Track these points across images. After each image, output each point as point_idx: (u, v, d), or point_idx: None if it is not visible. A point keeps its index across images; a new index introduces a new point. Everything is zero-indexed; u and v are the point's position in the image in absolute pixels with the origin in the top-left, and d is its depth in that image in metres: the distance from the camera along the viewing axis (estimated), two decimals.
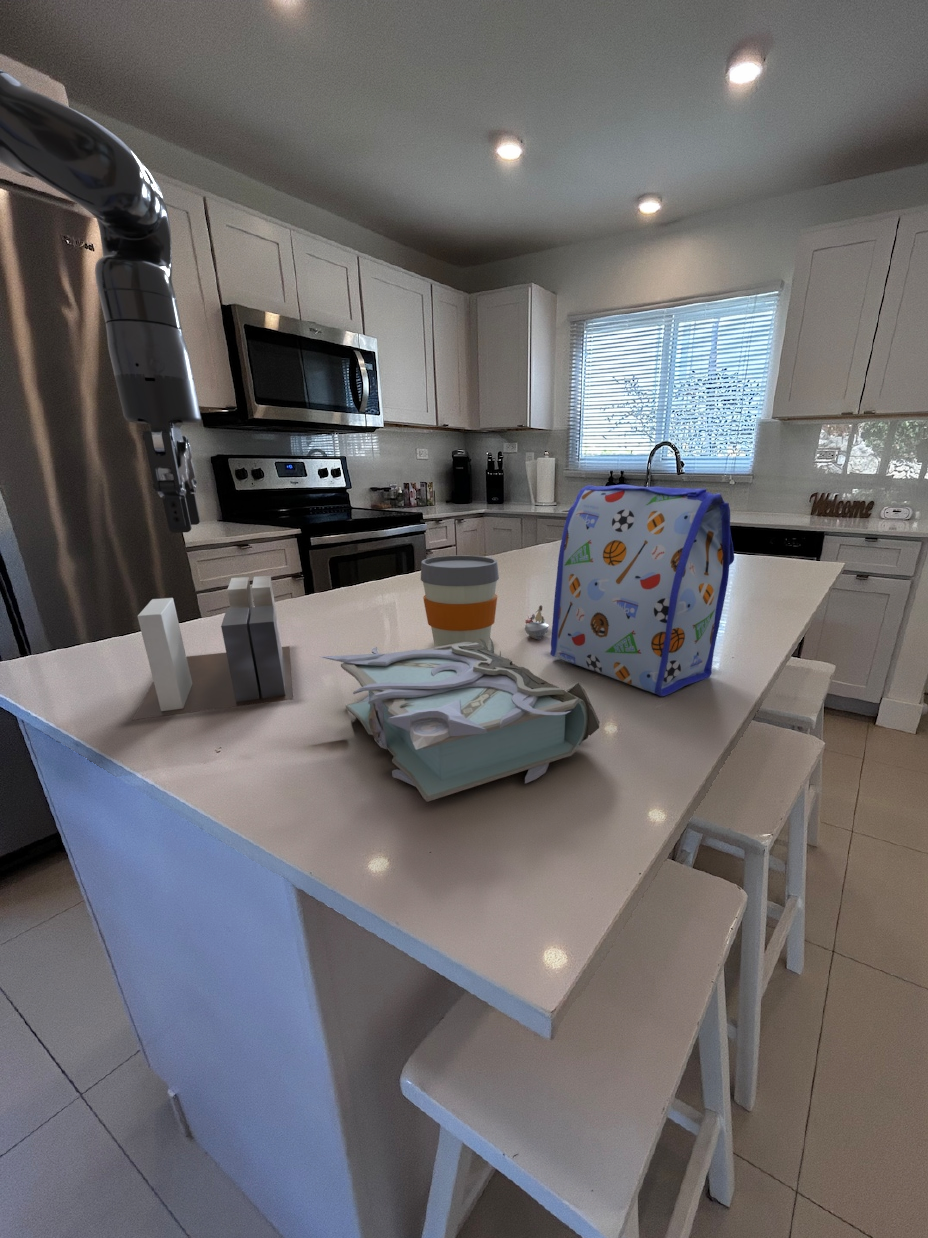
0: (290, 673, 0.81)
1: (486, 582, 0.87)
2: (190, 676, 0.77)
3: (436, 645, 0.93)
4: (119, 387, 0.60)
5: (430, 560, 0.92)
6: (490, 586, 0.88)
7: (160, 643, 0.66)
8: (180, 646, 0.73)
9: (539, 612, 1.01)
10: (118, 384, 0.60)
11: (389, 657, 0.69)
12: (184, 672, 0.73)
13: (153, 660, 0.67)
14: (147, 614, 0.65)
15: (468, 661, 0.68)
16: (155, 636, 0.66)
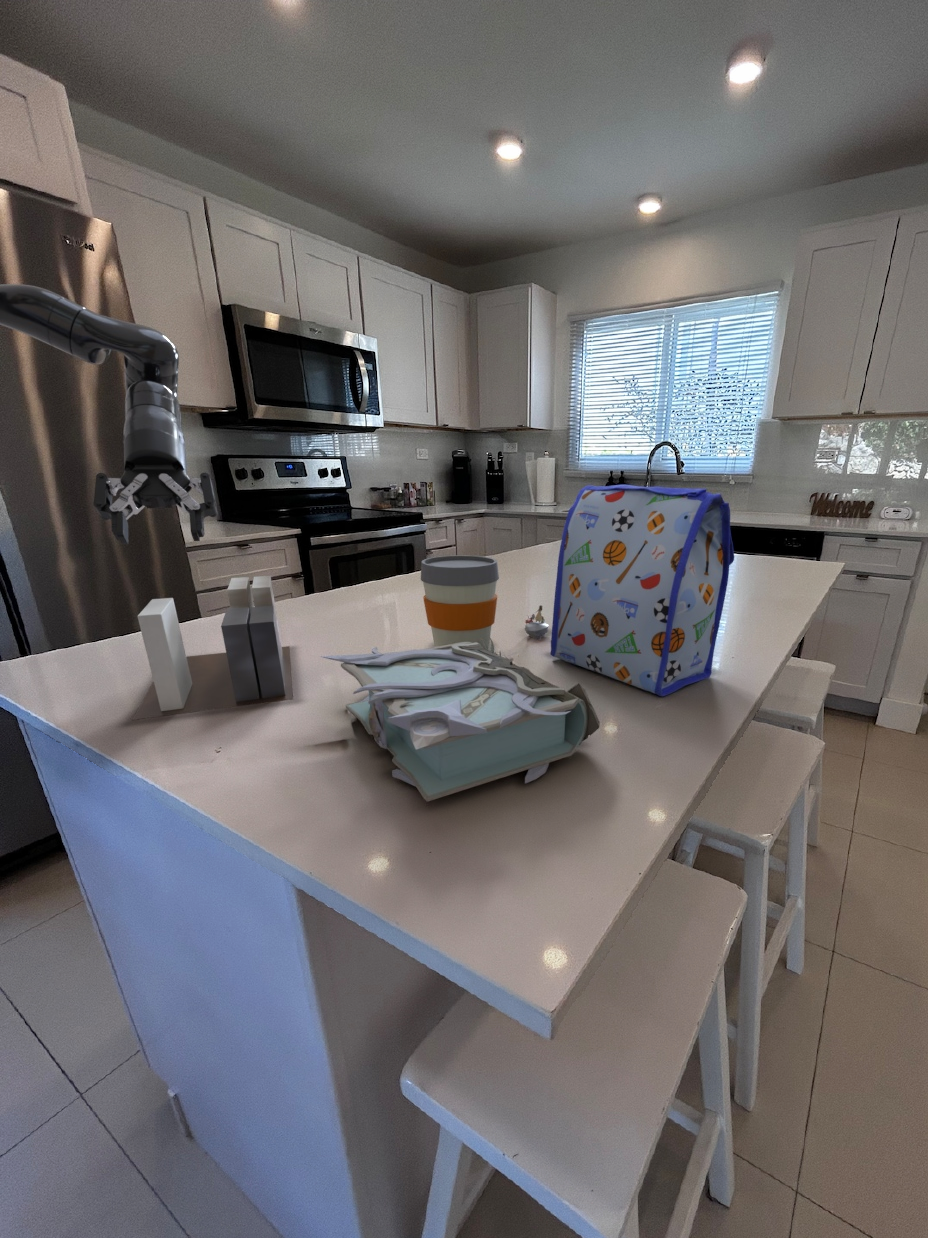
0: (290, 673, 0.81)
1: (486, 582, 0.87)
2: (190, 676, 0.77)
3: (436, 645, 0.93)
4: None
5: (430, 560, 0.92)
6: (490, 586, 0.88)
7: (160, 643, 0.66)
8: (180, 646, 0.73)
9: (539, 612, 1.01)
10: None
11: (389, 657, 0.69)
12: (184, 672, 0.73)
13: (153, 660, 0.67)
14: (147, 614, 0.65)
15: (468, 661, 0.68)
16: (155, 636, 0.66)
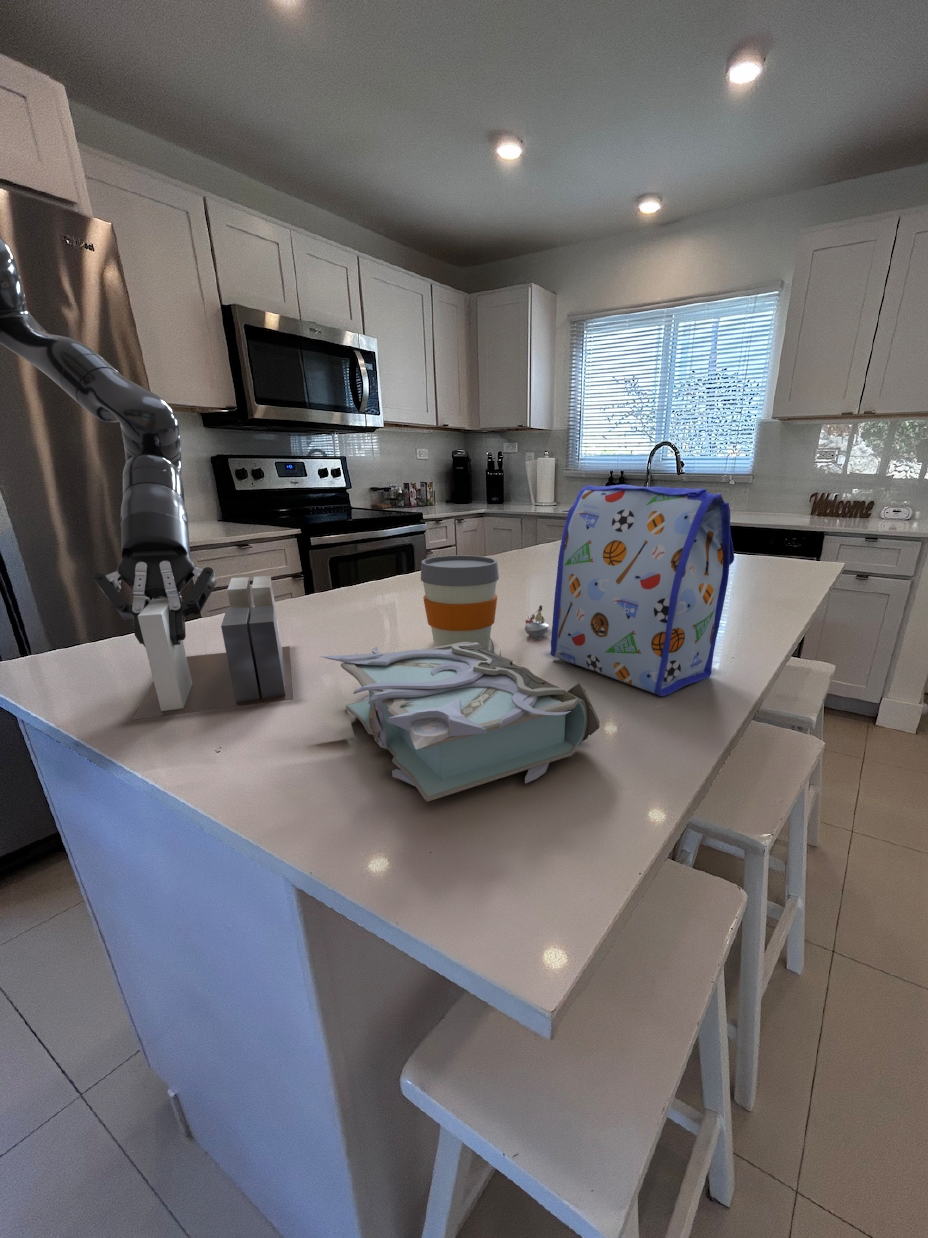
0: (290, 673, 0.81)
1: (486, 582, 0.87)
2: (190, 676, 0.77)
3: (436, 645, 0.93)
4: None
5: (430, 560, 0.92)
6: (490, 586, 0.88)
7: (160, 643, 0.66)
8: (180, 646, 0.73)
9: (539, 612, 1.01)
10: None
11: (389, 657, 0.69)
12: (184, 672, 0.73)
13: (153, 660, 0.67)
14: (147, 614, 0.65)
15: (468, 661, 0.68)
16: (155, 636, 0.66)
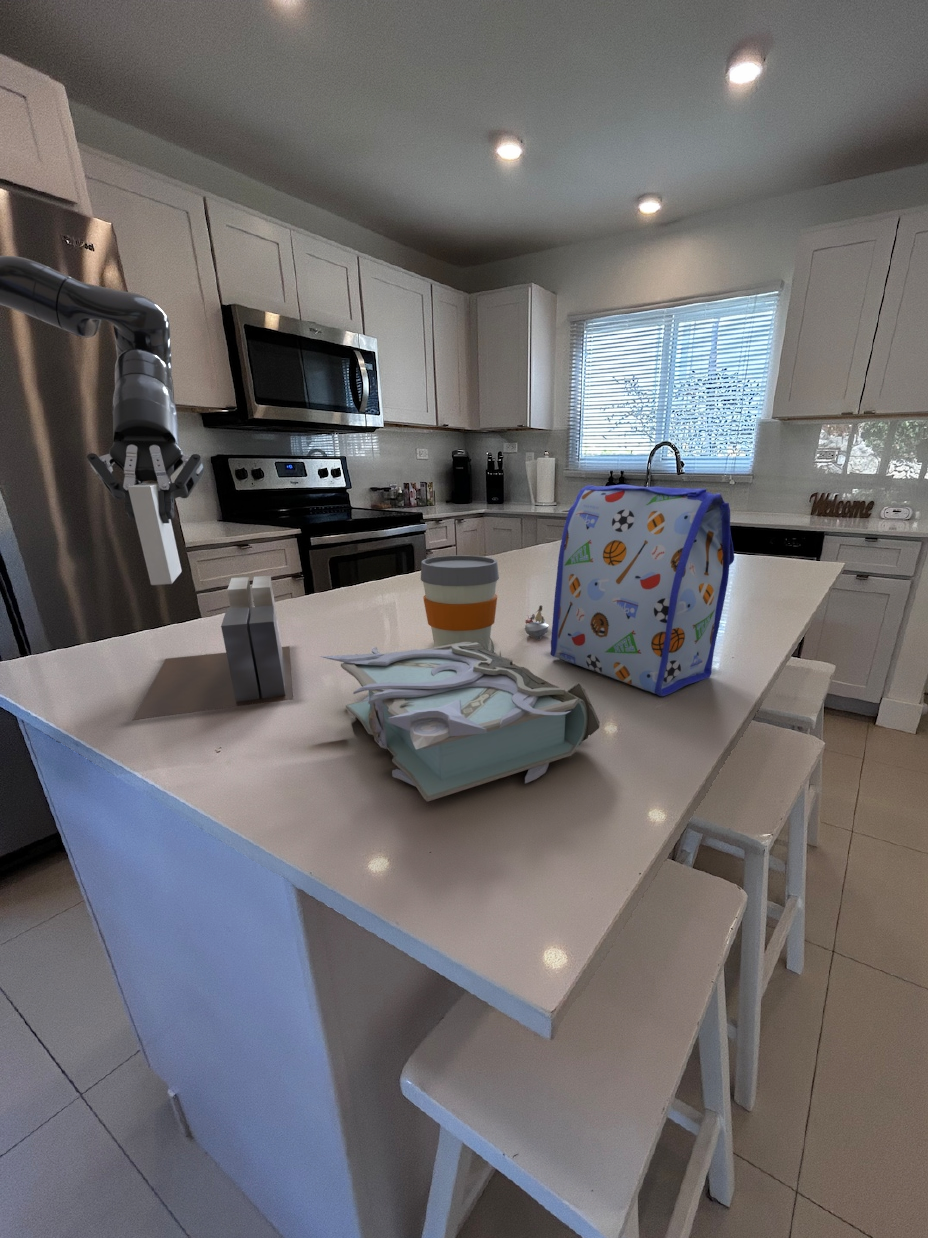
0: (290, 673, 0.81)
1: (486, 582, 0.87)
2: (179, 563, 0.81)
3: (436, 645, 0.93)
4: None
5: (430, 560, 0.92)
6: (490, 586, 0.88)
7: (149, 516, 0.70)
8: (169, 530, 0.77)
9: (539, 612, 1.01)
10: None
11: (389, 657, 0.69)
12: (173, 555, 0.77)
13: (143, 532, 0.70)
14: (137, 486, 0.69)
15: (468, 661, 0.68)
16: (145, 508, 0.70)
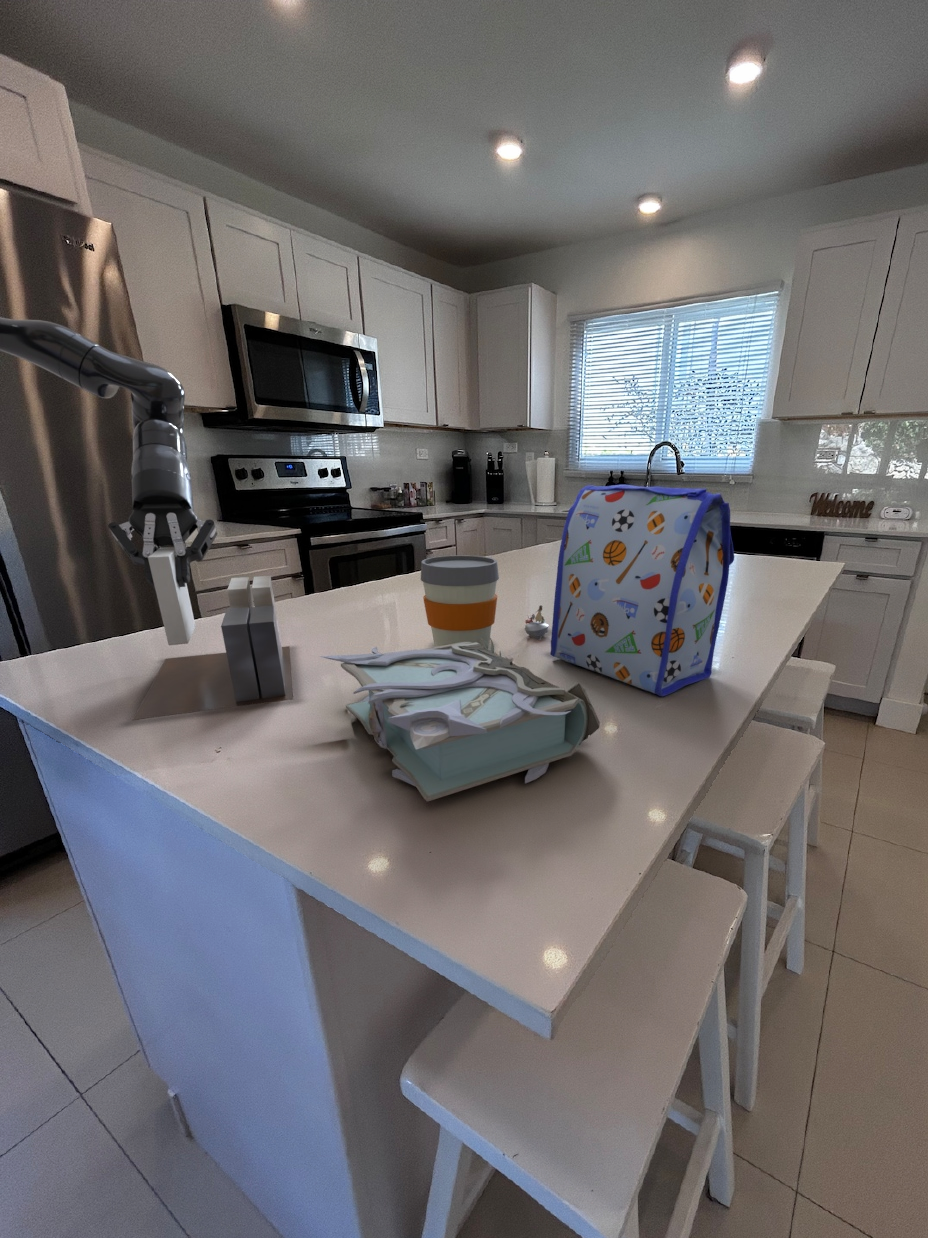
0: (290, 673, 0.81)
1: (486, 582, 0.87)
2: None
3: (436, 645, 0.93)
4: None
5: (430, 560, 0.92)
6: (490, 586, 0.88)
7: (167, 583, 0.75)
8: (185, 590, 0.82)
9: (539, 612, 1.01)
10: None
11: (389, 657, 0.69)
12: (188, 614, 0.82)
13: (161, 598, 0.75)
14: (156, 556, 0.74)
15: (468, 661, 0.68)
16: (163, 576, 0.75)
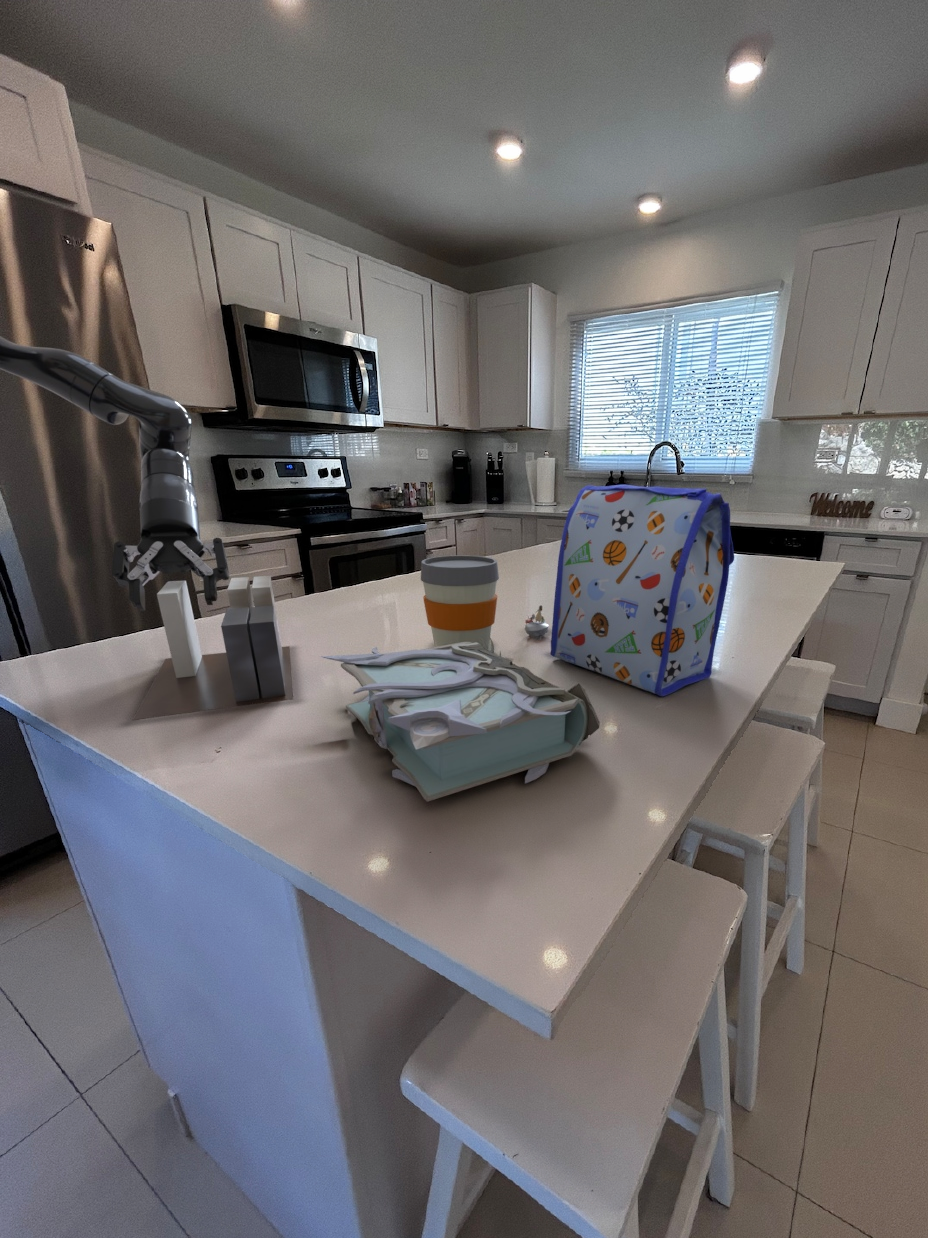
0: (290, 673, 0.81)
1: (486, 582, 0.87)
2: (200, 650, 0.87)
3: (436, 645, 0.93)
4: None
5: (430, 560, 0.92)
6: (490, 586, 0.88)
7: (175, 618, 0.77)
8: (192, 623, 0.84)
9: (539, 612, 1.01)
10: None
11: (389, 657, 0.69)
12: (195, 645, 0.84)
13: (170, 633, 0.77)
14: (165, 593, 0.76)
15: (468, 661, 0.68)
16: (172, 612, 0.76)
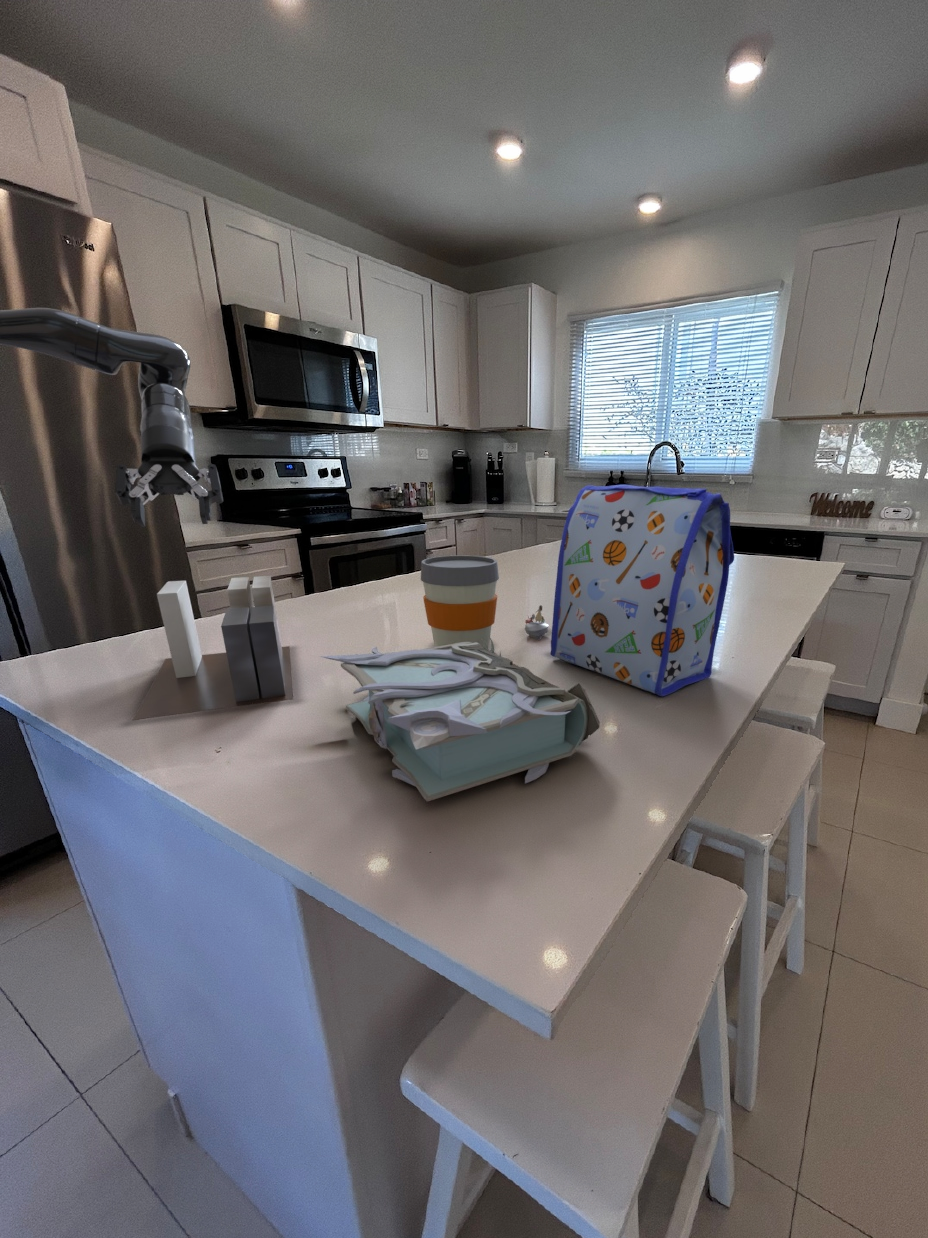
0: (290, 673, 0.81)
1: (486, 582, 0.87)
2: (200, 650, 0.87)
3: (436, 645, 0.93)
4: None
5: (430, 560, 0.92)
6: (490, 586, 0.88)
7: (175, 618, 0.77)
8: (192, 623, 0.84)
9: (539, 612, 1.01)
10: None
11: (389, 657, 0.69)
12: (195, 645, 0.84)
13: (170, 633, 0.77)
14: (165, 593, 0.76)
15: (468, 661, 0.68)
16: (172, 612, 0.76)
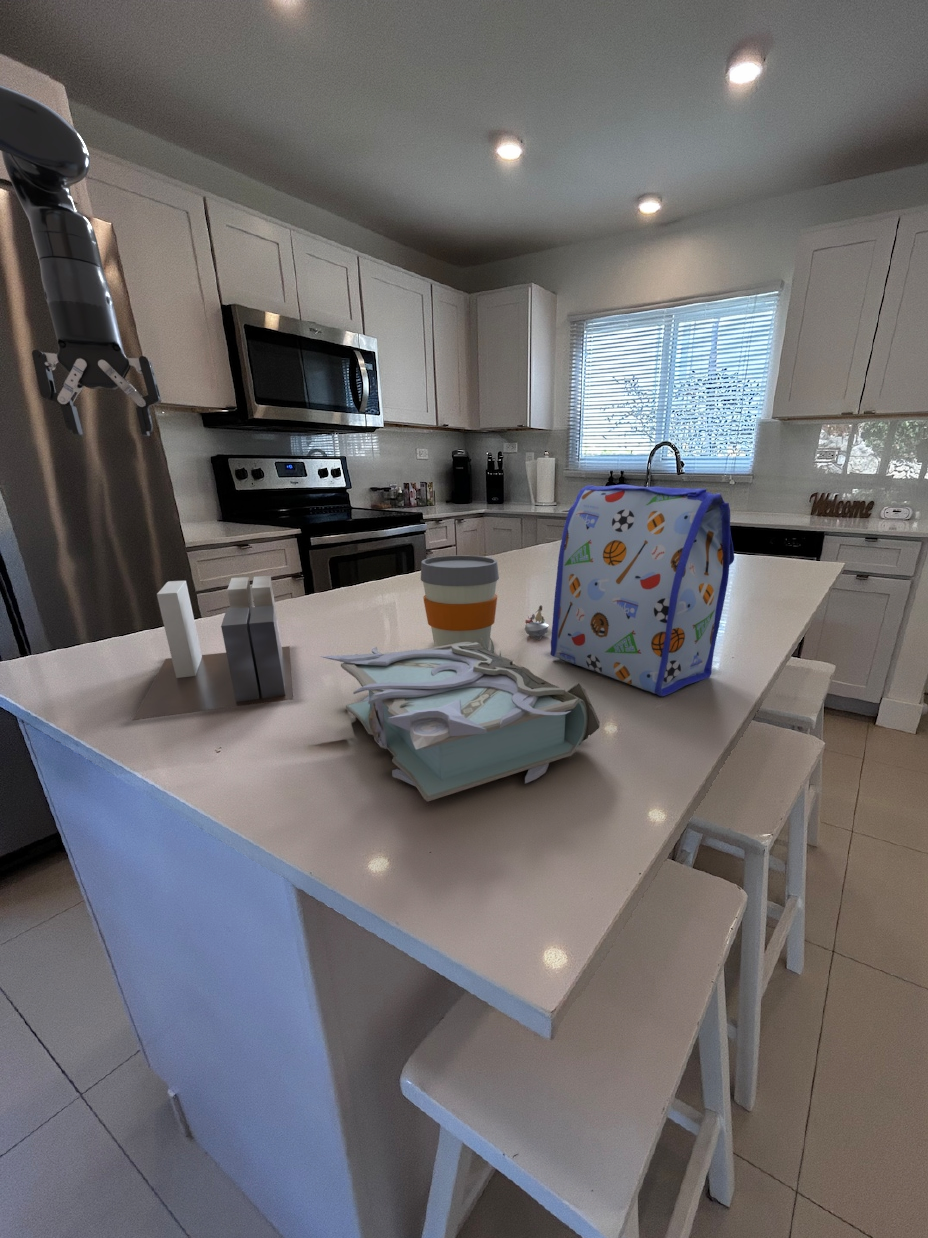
0: (290, 673, 0.81)
1: (486, 582, 0.87)
2: (200, 650, 0.87)
3: (436, 645, 0.93)
4: None
5: (430, 560, 0.92)
6: (490, 586, 0.88)
7: (175, 618, 0.77)
8: (192, 623, 0.84)
9: (539, 612, 1.01)
10: None
11: (389, 657, 0.69)
12: (195, 645, 0.84)
13: (170, 633, 0.77)
14: (165, 593, 0.76)
15: (468, 661, 0.68)
16: (172, 612, 0.76)
